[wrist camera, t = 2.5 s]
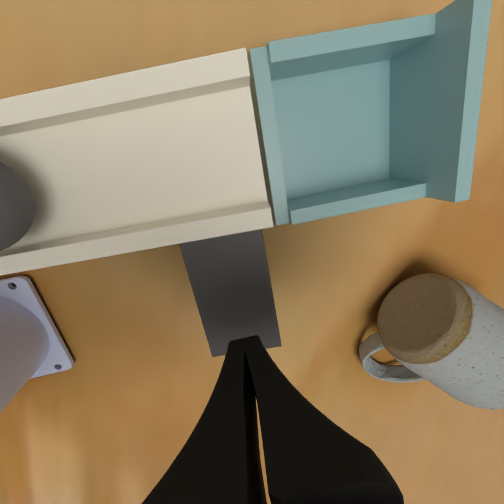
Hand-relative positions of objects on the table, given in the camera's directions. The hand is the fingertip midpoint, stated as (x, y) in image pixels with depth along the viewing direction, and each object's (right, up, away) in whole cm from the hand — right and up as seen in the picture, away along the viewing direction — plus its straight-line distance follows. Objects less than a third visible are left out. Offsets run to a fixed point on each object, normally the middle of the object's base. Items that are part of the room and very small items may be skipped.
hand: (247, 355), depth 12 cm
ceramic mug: (+14, -2, +12) cm, 18 cm away
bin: (+5, +12, +5) cm, 14 cm away
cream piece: (-6, +5, +2) cm, 8 cm away
